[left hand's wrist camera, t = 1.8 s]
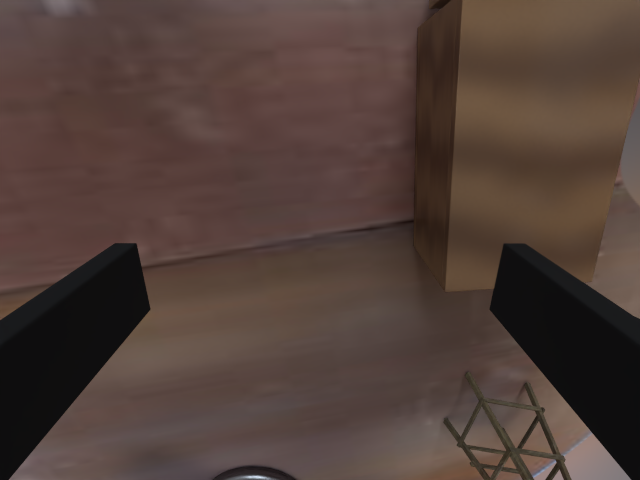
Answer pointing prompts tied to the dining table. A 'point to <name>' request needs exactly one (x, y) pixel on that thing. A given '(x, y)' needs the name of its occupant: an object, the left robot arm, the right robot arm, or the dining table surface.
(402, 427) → the dining table surface
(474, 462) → the miniature windmill
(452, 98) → the cabinet
